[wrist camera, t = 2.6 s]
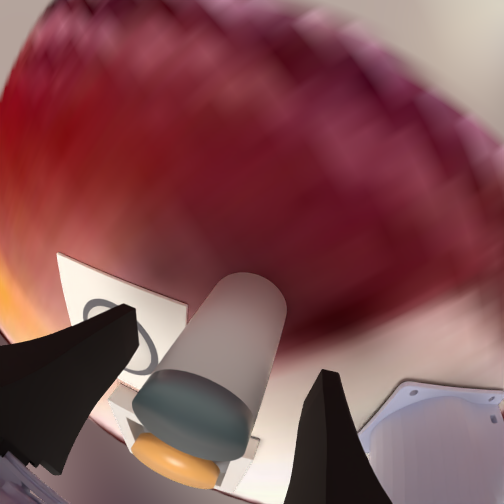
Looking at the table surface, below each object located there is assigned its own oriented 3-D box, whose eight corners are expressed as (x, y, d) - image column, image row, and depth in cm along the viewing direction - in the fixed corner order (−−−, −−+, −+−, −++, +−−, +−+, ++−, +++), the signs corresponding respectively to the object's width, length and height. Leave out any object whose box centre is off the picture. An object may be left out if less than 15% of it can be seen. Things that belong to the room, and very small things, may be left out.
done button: (224, 458, 17) (217, 474, 16) (216, 482, 21) (211, 494, 19) (132, 420, 19) (123, 433, 17) (144, 453, 22) (138, 464, 21)
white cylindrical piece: (295, 285, 12) (256, 427, 6) (276, 345, 14) (236, 470, 7) (216, 262, 12) (123, 374, 6) (208, 323, 14) (139, 432, 8)
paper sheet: (187, 304, 14) (185, 307, 14) (184, 407, 18) (183, 410, 18) (58, 252, 15) (55, 253, 15) (82, 355, 20) (80, 357, 19)
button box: (259, 439, 18) (253, 460, 16) (238, 479, 23) (232, 493, 21) (120, 383, 20) (107, 399, 18) (138, 440, 25) (130, 452, 23)
